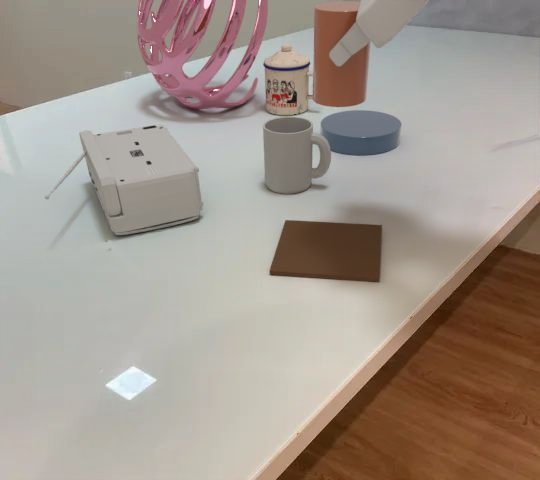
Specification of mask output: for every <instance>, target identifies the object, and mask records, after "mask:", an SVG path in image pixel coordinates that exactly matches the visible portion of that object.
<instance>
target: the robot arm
mask: <svg viewBox="0 0 540 480" xmlns="http://www.w3.org/2000/svg"><path fill="white" fill-rule="evenodd" d="M359 2H360V5H359V9H358V13H357V17H356V22H355V23H354V24H353V26H352V27H351V28H350V29H349V31H348V32H347V33H346V34H345V35H344V36H343V37H342V39H340V40H339V41H338V42H337V43H336V44H335V45H334V46H333V47H332V49H331V51H330V53H329V57H330V59H331V60H332V61H333V62H334V64H335V65H336V66H338V67H340V66H342V65H343V64H344V63H345V62H346V61H347V60H348V59H349V58H350V57H351V56H352V55H354V54H355V53H356V52H358V51H359V50H360V49H362V48H363V47H364V46H366V45H367V44H368V43H369V42H370V41H371V42H370V43H372V44H373V45H374V47H375V48H377V49H382V48H384V47H385V46H386V45H387V44H389V43H390V42H391V41H392V40H393V39H395V37H396V36H397V35H398V34H399V33H400V32H401V31H402V30H403V29H404V28H405V27H406V25H408V24H409V22H411V21H412V20H413V19H414V17H415V16H416V15H418V13H419V12H420V11H421V10H422V9H423V8H424V7H425V6H426V5H427V4H428V3H429V2H430V0H360V1H359Z"/></svg>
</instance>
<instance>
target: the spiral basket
mask: <svg viewBox="0 0 540 480" xmlns="http://www.w3.org/2000/svg"><path fill="white" fill-rule="evenodd" d="M154 1H155V0H138V3H137V9H136V36H137V43H138V47H139V52H140V55H141V58H142V60H143V63H144V64H145V66H146V67H147V69H148V70H149V72H150V73H151V74H152V77H153V79H154V80H155V82H156V83H157V85H158V86H159V87H160V89H162V91H164V92H165V93H166V94H168V95H169V96H171V97H174V98H176V99H177V101H179V103H181V104H182V105H183V106H186V107H187V108H190V109H194V110H207V109H225V110H226V109H233V108H238V107H239V106H241V105H243V104H245V103H246V102H248V100H249V99H250V98H252V97H253V95H254V93H255V91H256V88H257V86H258V83H259V82H258V81H259V79H258V77H255V78H254V80H253V82H252V84H251V87H250V89H249V91H247V93H246V94H245V96H243V97H241V99H238V100H237V101H226V100H227V99H228V97H230V96H231V95H232V94H233V93H234V92H235V91H236V90H237V88H238V87H239V86H240V85H241V84H242V83H243V82H245V80H247V79H248V78H249V76H250V75H249V74H248V73H249V71H250V70H251V68H252V66H253V64H254V62H255V61H256V58H257V55H258V54H259V51H260V49H261V46H262V43H263V40H264V36H265V32H266V29H267V23H268V17H269V0H258V3H257V13H256V14H257V15H256V18H255V24H254V27H253V31H252V34H251V37H250V41H249V43H248V46H247V48H246V50H245V53H244V54H243V56H242V59H241V60H240V62H239V64H238V65H237V68H236V69H235V71H234V72H233V74H232V75H231V76H230V78H229V79H228V80H227V81H226V83H224V84H219V85H213V86H207V85H208V84H210V82H211V81H212V80H213V78H215V76H216V75H217V74H218V72H219V71H220V70H221V69H222V67H223V65H224V64H225V63H226V60H227V58H228V57H229V56H230V53H231V52H232V49H233V48H234V45H235V43H236V40H237V38H238V35H239V33H240V30H241V26H242V23H243V20H244V15H245V11H246V5H247V0H231V7H230V11H229V15H228V18H227V21H226V24H225V26H224V30H223V32H222V35H221V38H220V40H219V41H218V43H217V44H216V47H215V49H214V51H213V52H212V54H211V56H210V57H209V59H208V60H207V62H206V63H205V64H204V66H203V67H202V68H201V69H200V70H199V71H198V73H196V74H195V75H194V76H192V77H190V76H188V75H187V74H186V73H185V71H184V70H183V66H184V64H185V63H186V62H187V61H188V60H189V59H190V58H191V57H192V55H193V54H194V52H195V51H196V50H197V48H198V46H199V44H200V43H201V41H202V39H203V38H204V36H205V34H206V31H207V29H208V27H209V25H210V22H211V19H212V16H213V13H214V10H215V6H216V2H217V0H186V2H185V0H161V1H160V5H159V6H158V10H157V12H156V14H155V12H154V11H153V10H152V6H153V4H154ZM195 13H196V14H195ZM194 14H195V17H194ZM149 17H150V22H151V27H150V28H147V26H148V22H149V21H148V20H149ZM193 18H194V19H193ZM192 19H193V20H192ZM191 21H193V22H192V23H191ZM190 23H191V25H190ZM189 25H190V27H189ZM174 26H175V27H174ZM172 28H174V31H173V33H172V37H171V41H170V45H169V48H168V46H167V44H166V40H165V39H166V36H167V35H168V34H169V33H170V31H171V30H172ZM188 28H189V29H188ZM146 45H147V46H149V56H148V52H147V49H146ZM160 54H161V60H160V58H159V56H160ZM187 97H188V98H189V97H191V98H194V99H195V100H197V101H199V102H190V101H189V100H188V99H187Z"/></svg>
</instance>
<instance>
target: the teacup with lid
mask: <svg viewBox="0 0 540 480" xmlns="http://www.w3.org/2000/svg"><path fill="white" fill-rule="evenodd" d="M280 47H281V50H277V51H276V52H275V53H274V54H272V55H269V56H267V57H265V58H264V61H263V64H262V65H263V67H264V87H265V110H266V111H267V112H268V113H270V114H273V115H277V116H295V115H294V114H296V115H300V114H303V113H305V112H306V111H308V109H309V100H313V94H309V90H310V89H309V87H310V86H309V85H310V84H309V82H310V77H313V71H311V70H310V65H311V61H310V58H309V57H308V56H307V55H304V54H301V53H299V51H297V50H294V49H293V46H292V44H291V43H283V44H282V45H281V46H280ZM299 113H300V114H299Z"/></svg>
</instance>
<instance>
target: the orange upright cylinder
mask: <svg viewBox="0 0 540 480" xmlns="http://www.w3.org/2000/svg"><path fill="white" fill-rule="evenodd" d="M360 2H361V1H355V0H341V1H340V0H339V1H337V0H336V1H327V2H322V3H318V4H316V5H314V8H313V9H314V13H313V15H314V18H313V63H312V64H313V67H312V70H313V76H312V95H313V99H312V101H313V102H314V103H315V104H318V105H320V106H324V107H331V108H347V107H348V108H349V107H355V106H358V105H362V104H363V103H364V102H366V100H367V91H368V80H369V79H368V77H369V68H370V67H369V66H370V54H371V43H372V42H371V41H370V42H369V43H368V44H367V45H366V46H364V47H363V48H362V49H360V50H359V51H358V52H356V53H355V54H354V55H352V56H351V57H350V58H349V59H348V60H347V61H346V62H345V63H344V64H343V65H342V66H340V67H338V66H336V65H335V64H334V62H333V61H332V60H331V59H330V57H329V53H330V51H331V49H332V47H333V46H334V45H335V44H336V43H337V42H338V41H339V40H340V39H342V37H343V36H344V35H345V34H346V33H347V32H348V31H349V29H350V28H351V27H352V26H353V24H354V23H355V22H356V17H357V13H358V9H359V5H360Z"/></svg>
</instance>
